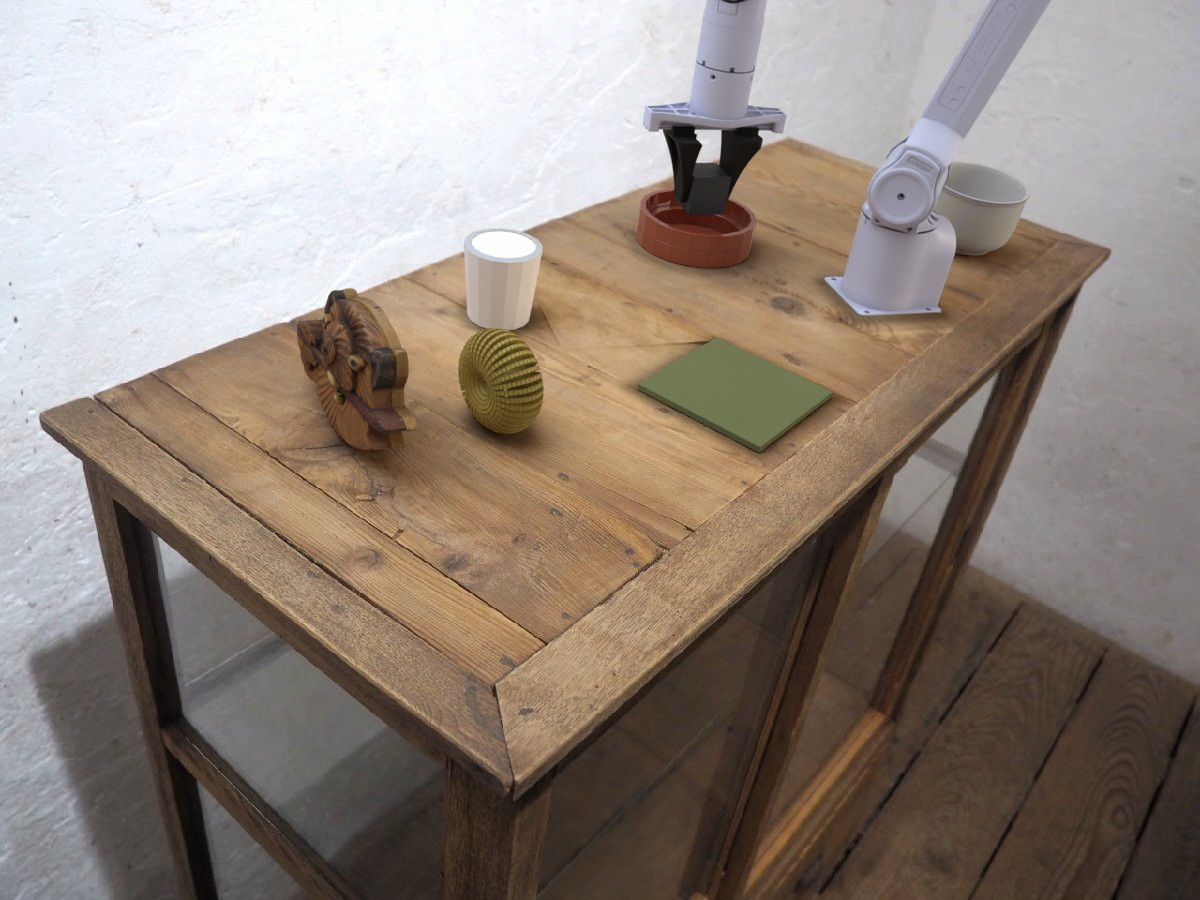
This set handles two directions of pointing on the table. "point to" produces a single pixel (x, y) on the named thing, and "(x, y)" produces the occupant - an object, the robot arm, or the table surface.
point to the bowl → (694, 232)
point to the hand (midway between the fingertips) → (701, 198)
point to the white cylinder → (501, 277)
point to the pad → (736, 393)
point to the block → (707, 190)
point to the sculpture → (500, 380)
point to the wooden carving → (358, 371)
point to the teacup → (981, 206)
